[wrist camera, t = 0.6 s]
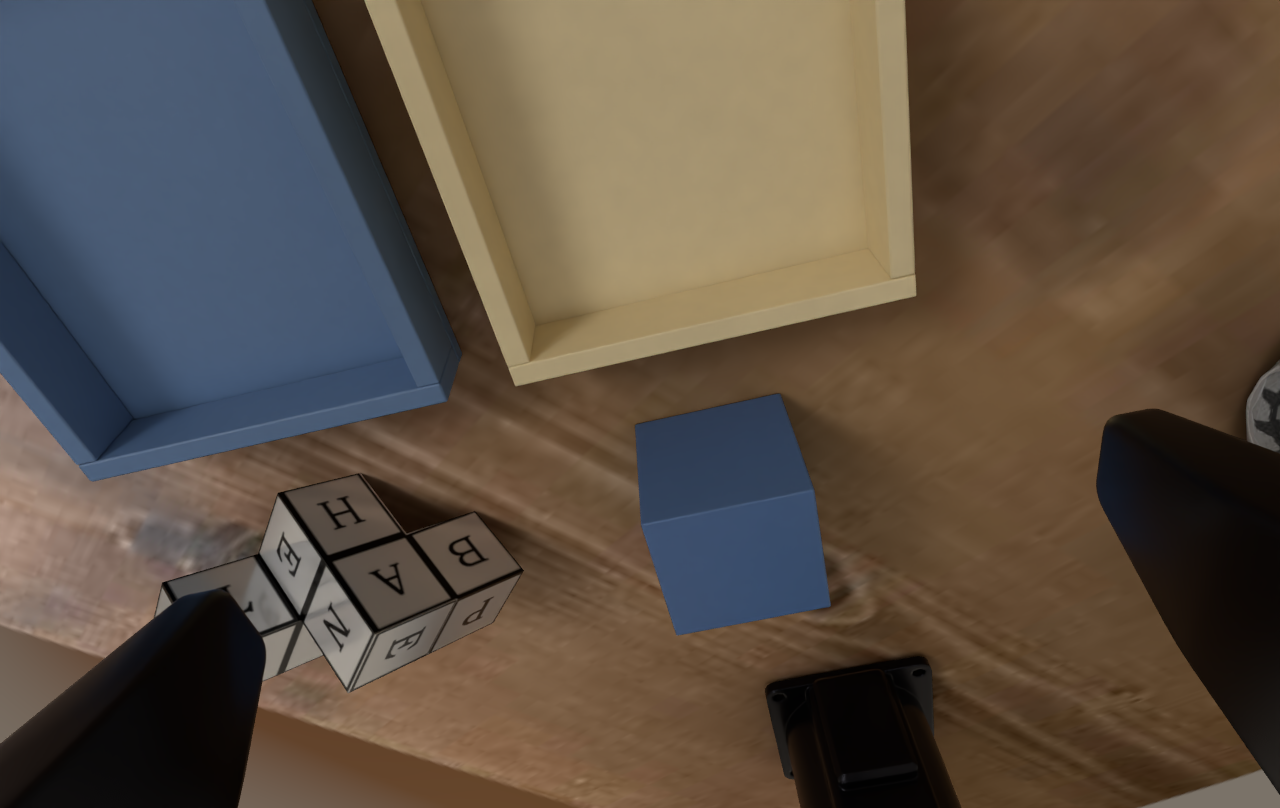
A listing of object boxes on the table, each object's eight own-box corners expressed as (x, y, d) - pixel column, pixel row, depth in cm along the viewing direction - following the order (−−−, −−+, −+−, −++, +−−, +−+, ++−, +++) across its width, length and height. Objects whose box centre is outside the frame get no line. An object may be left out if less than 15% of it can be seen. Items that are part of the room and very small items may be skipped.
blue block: (797, 502, 26) (831, 606, 22) (665, 529, 26) (676, 636, 22) (780, 392, 23) (814, 489, 19) (634, 423, 23) (640, 525, 20)
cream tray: (885, 256, 21) (917, 296, 19) (523, 339, 22) (515, 387, 20) (844, -428, 13) (888, -486, 11) (303, -256, 14) (253, -280, 12)
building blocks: (430, 456, 26) (177, 516, 20) (523, 570, 24) (275, 678, 18) (384, 558, 29) (148, 641, 22) (465, 669, 27) (230, 794, 20)
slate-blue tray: (463, 353, 22) (448, 402, 20) (136, 429, 23) (90, 482, 21) (215, -229, 15) (151, -248, 13) (-248, -82, 16) (-378, -77, 14)
